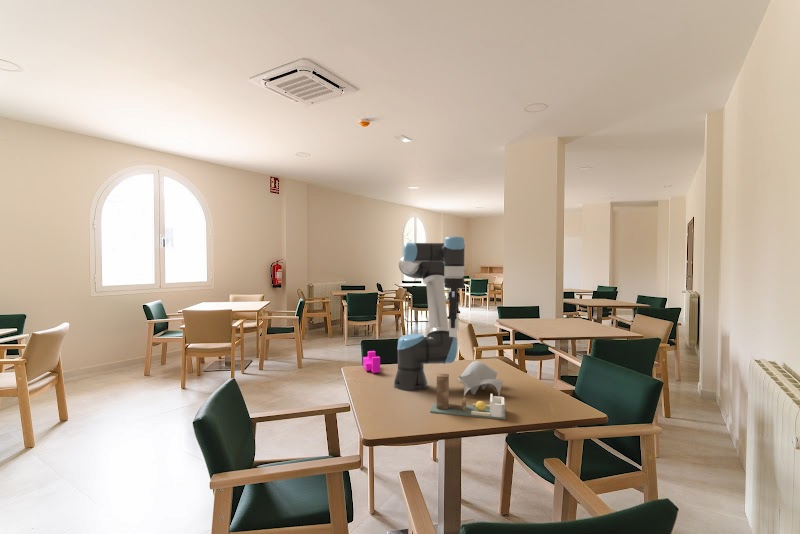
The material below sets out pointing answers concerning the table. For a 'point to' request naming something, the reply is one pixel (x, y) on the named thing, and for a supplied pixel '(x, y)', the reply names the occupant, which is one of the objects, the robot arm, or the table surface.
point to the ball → (480, 406)
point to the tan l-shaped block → (446, 393)
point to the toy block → (372, 362)
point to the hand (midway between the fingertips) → (454, 333)
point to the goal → (496, 406)
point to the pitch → (466, 411)
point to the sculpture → (479, 378)
